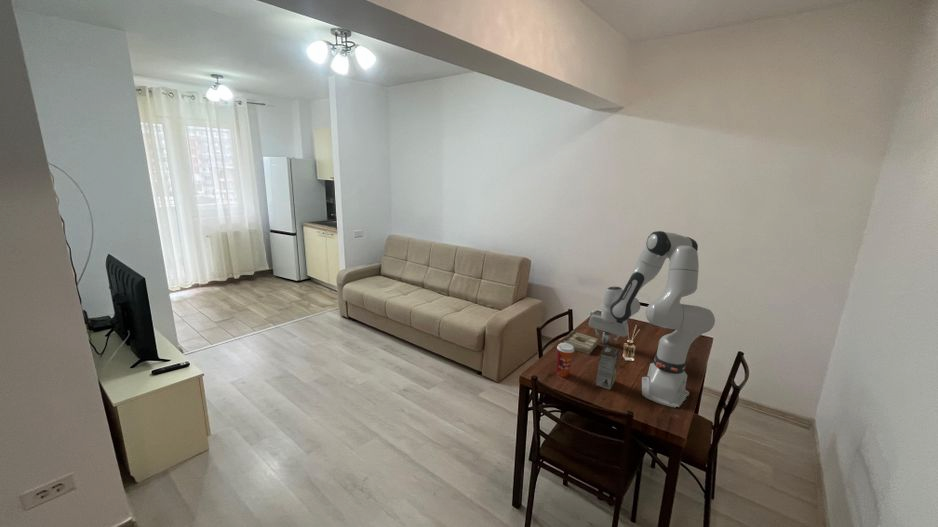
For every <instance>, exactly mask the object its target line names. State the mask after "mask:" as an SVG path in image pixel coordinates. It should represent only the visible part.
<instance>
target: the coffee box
mask: <svg viewBox="0 0 938 527" xmlns="http://www.w3.org/2000/svg"><path fill="white" fill-rule="evenodd" d="M620 351H621V348H620V347H619V348H618V347H614V346H611V345H608V346H607V345H604V347H603V348H602V350H601V352H600V354H599V361H598V368H597V376H596V381H595V386H598V387H601V388H604V389H607V390H611V389H612V387H613V386H614V383H615V382H616V376H617V371H618V370H617V369H618V364H619V360H620V358H619V357H620Z"/></svg>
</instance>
